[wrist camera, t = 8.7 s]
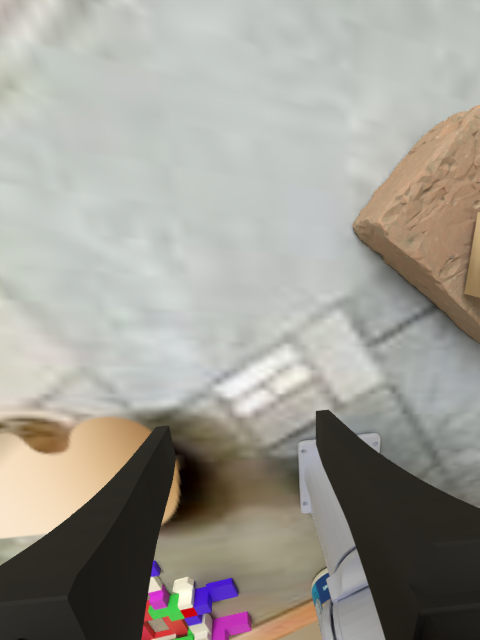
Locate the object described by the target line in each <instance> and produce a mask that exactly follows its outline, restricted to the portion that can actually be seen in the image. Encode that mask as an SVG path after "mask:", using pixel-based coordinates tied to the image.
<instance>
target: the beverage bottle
mask: <svg viewBox="0 0 480 640" xmlns="http://www.w3.org/2000/svg"><path fill="white" fill-rule="evenodd" d="M328 577H330V575H329V573H328V569H327V568H325V569H324V570H322V571H321V572H320V573H319V574H318V575H317V576H316V577H315V578H314V580H313V583H312V587H311V592H312V597H313V602H314V605H315V608H316V613H317V618H318V622H319V626H320V631H321V624H322V612H323V606H324V603H325V602H326V601H327V600H329V599H331V596H330V592H329V589H328V585H327V581H326V579H327V578H328ZM321 635H322V632H321Z"/></svg>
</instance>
